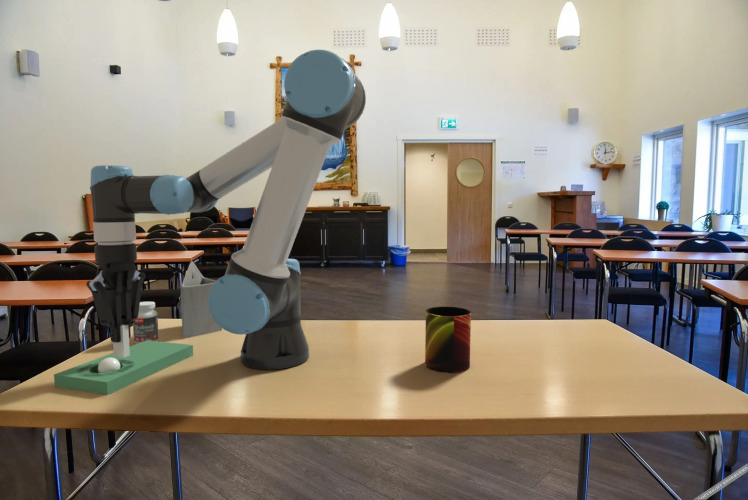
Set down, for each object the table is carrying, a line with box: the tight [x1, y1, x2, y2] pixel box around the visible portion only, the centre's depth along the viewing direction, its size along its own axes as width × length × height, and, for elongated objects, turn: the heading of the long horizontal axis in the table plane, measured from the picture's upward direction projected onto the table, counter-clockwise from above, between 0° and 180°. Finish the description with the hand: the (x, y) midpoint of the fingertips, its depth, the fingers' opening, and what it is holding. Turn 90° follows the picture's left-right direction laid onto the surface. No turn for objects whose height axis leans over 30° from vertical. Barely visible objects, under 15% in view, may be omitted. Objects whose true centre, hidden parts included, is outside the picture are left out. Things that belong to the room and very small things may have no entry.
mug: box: [424, 306, 472, 374], centre depth 106 cm, size 10×14×12 cm
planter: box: [180, 260, 223, 339], centre depth 132 cm, size 16×8×19 cm, turn 1°
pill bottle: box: [132, 301, 159, 344], centre depth 122 cm, size 6×6×10 cm
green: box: [53, 340, 194, 395], centre depth 102 cm, size 24×13×2 cm, turn 162°
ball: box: [98, 357, 120, 373], centre depth 97 cm, size 4×4×4 cm
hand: (121, 355), depth 100 cm, fingers closed
